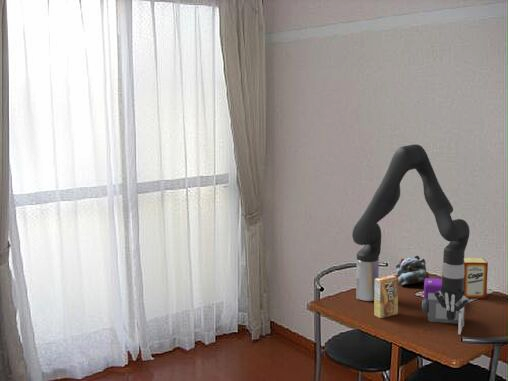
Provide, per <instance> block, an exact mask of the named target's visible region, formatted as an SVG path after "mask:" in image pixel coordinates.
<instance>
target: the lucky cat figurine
mask: <svg viewBox="0 0 508 381" xmlns="http://www.w3.org/2000/svg"><path fill="white" fill-rule="evenodd" d="M426 263H427V262H426V260H425V259H424V258H420V256H419V255H416V256H414V257H407V258H401V260H400V261H399V262H398V263H396V264H395V268H396V274H397V276H398V277H397V278H398V286H399V285H400V286H402V287H403V286H406V285H410V284H417V283H418V284H420V283H422V284H424V281H425V279H427V278H430V275H429V273H428V271H427V268H426Z"/></svg>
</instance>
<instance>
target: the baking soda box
mask: <svg viewBox="0 0 508 381" xmlns="http://www.w3.org/2000/svg"><path fill="white" fill-rule="evenodd" d="M488 265H489V262H488V261H487V260H486V259H485V258H483V257H464V273H465V275H464V288H463V291H464V295H465V297H466V298H469V299H487V292H488V291H487V290H488V271H489V270H488V267H489V266H488Z"/></svg>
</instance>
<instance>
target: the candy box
mask: <svg viewBox="0 0 508 381" xmlns="http://www.w3.org/2000/svg"><path fill="white" fill-rule="evenodd" d="M398 278H399V277H397V276H395V275H393V274H392V275H390V274H389V275H386V276H381V277H379V278H376V279H375V292H374V304H373V306H374V307H373V308H374V309H373V310H374V313H373V315H374V316H376V317H377V318H379V319H383V318H387V317H391V316H395V315H398V314H399V312H398V311H399V308H398V306H399V304H398V303H399V283H398Z"/></svg>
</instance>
